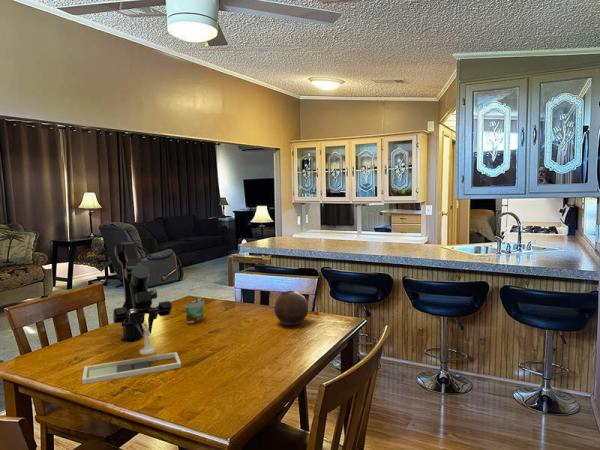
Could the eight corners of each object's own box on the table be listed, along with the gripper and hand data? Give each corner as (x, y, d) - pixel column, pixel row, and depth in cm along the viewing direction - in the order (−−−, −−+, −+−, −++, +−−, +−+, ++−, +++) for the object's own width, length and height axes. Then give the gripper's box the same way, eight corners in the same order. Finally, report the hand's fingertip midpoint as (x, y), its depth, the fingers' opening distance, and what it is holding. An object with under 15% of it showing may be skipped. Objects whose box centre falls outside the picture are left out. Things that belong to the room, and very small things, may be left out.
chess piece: (144, 355, 141) (142, 326, 140) (136, 352, 144) (135, 323, 143) (157, 350, 144) (156, 322, 143) (150, 347, 148) (148, 319, 147)
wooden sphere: (313, 327, 185) (313, 293, 184) (281, 331, 180) (280, 296, 178) (300, 317, 199) (300, 286, 198) (270, 321, 193) (269, 289, 192)
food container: (198, 326, 188) (197, 304, 187) (185, 325, 190) (184, 303, 189) (209, 318, 200) (209, 297, 199) (197, 317, 202) (196, 296, 201)
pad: (116, 367, 145) (116, 365, 145) (117, 377, 138) (116, 375, 138) (89, 371, 142) (89, 370, 142) (88, 381, 134) (88, 380, 134)
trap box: (176, 356, 154) (176, 352, 154) (181, 367, 144) (181, 363, 144) (84, 370, 143) (84, 366, 142) (82, 384, 133) (82, 379, 132)
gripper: (112, 284, 141) (118, 326, 132) (169, 278, 150) (178, 317, 141) (110, 302, 148) (116, 343, 140) (165, 295, 158) (173, 333, 149)
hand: (146, 333), depth 142 cm, fingers closed on chess piece
